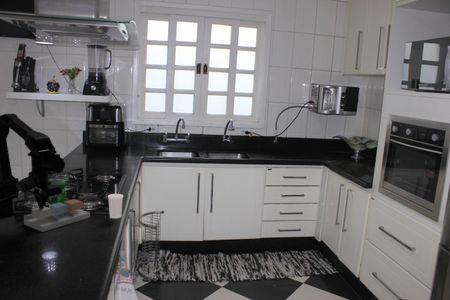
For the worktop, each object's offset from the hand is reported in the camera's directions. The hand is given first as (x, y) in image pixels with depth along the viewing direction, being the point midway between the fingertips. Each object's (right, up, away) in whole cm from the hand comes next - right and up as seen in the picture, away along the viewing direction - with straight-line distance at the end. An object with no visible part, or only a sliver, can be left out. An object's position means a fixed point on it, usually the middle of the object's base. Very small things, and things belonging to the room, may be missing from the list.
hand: (41, 208), depth 152 cm
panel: (+4, -6, +7) cm, 10 cm away
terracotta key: (+8, -2, +12) cm, 14 cm away
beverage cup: (+24, -6, +15) cm, 29 cm away
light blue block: (+4, -2, +6) cm, 8 cm away
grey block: (0, -3, 0) cm, 3 cm away
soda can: (-5, -2, +25) cm, 26 cm away
